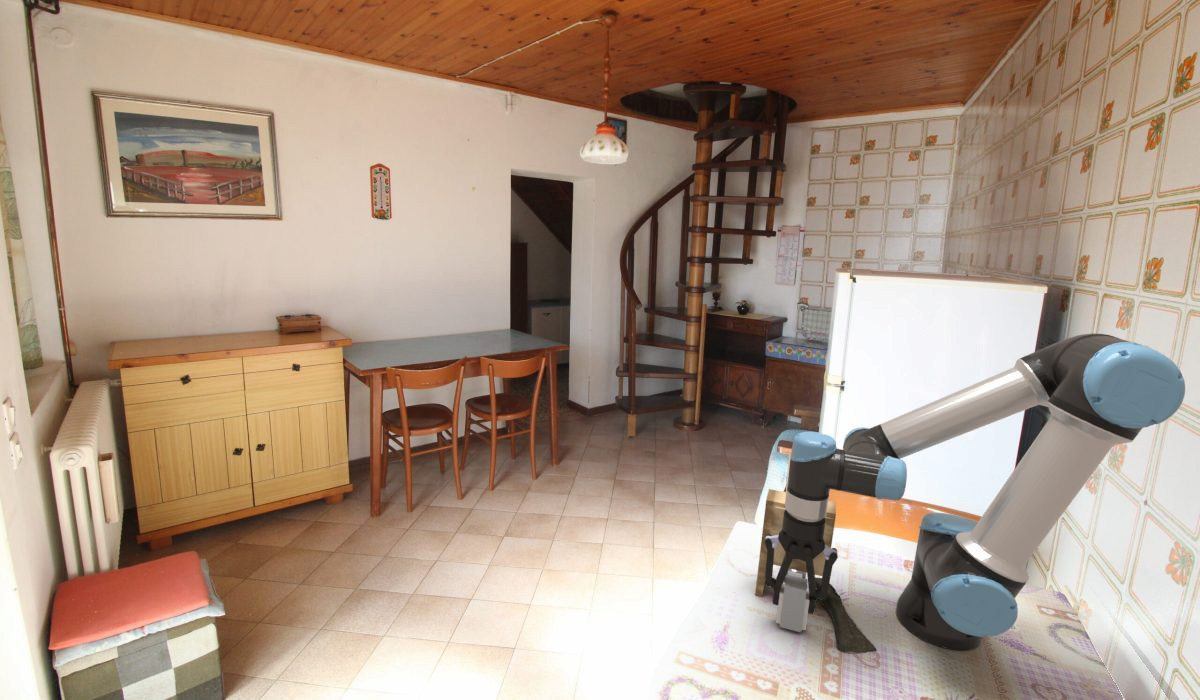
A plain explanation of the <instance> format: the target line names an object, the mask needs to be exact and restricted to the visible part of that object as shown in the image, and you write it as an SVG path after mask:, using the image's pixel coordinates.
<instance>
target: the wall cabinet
mask: <svg viewBox="0 0 1200 700" xmlns="http://www.w3.org/2000/svg"><path fill="white" fill-rule="evenodd" d="M767 491H768V492H767V496H766V500H765V508H764V516H763V523H762V531H761V543H760V550H759V557H758V558H759V560H758V567H757V576H756V585H755V593H754V596H758V597H762V598H763V594H764V588H765V576H766V562H767V548H766V545H765V538H766V535H767V534H770V535H771V536H775V535H779V533H780V532H781V530H782V525H783V517H784V511H785V510H786V509H785V500H786V491H782V490H777V489H770V488H768V490H767ZM836 506H837V505H836V501H832V500H828V507H827V514H826V517H825V519H826V521H825V529H824V536H823V540H824V542H825V545H826V546H828V547H830V548H831V549H832V544H833V537H834V531H835V523H836V516H837V509H836V508H837V507H836ZM785 553H786V552H785V550H784V549H783V547H782V545H781V544H780V542H778V543H777V547H776V548H774V561H773V566H776V567H781V564H782V562H783V559H784V556H785ZM813 563H814V573H815V576H818V577H819V576H820V577H822V575H823V570H824V564H825V558H824V552H823V551H822V552H821V553H820V554H819V555H817V556H816V557H815V558H814V559H813ZM789 569H793V570H798V571H802V572H806V574H807V568H806V562H805V561H802V560H800V559H793V560H792V562H791V564H790V566H789Z"/></svg>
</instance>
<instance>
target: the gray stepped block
mask: <svg viewBox="0 0 1200 700" xmlns="http://www.w3.org/2000/svg"><path fill="white" fill-rule="evenodd" d="M807 591H808V578H807V579H802V574H800V573H795V572H791V571H788V575H786V579H785V581H784V596H783V604H782V612H781V620H780V624H779V628H784V629H787V630H790V631H794V632H797V633H802V631H803V630H802V622H803V615H804V607H805V600H806V592H807Z"/></svg>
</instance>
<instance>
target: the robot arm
mask: <svg viewBox="0 0 1200 700" xmlns="http://www.w3.org/2000/svg"><path fill="white" fill-rule="evenodd" d="M1185 395H1186V383H1185V379H1184V377H1183V374H1182V372H1181V370H1180V368H1179V367H1178V366H1177V364H1176V363H1175V362H1174V361H1173V360H1172V359H1171V358H1169V356H1166V355H1165V354H1163V353H1161V352H1159V351H1158V350H1155V349H1153V348H1152V347H1150V346H1148V345H1145V344H1144V345H1143V344H1141V343H1137V342H1134V341H1130V340H1125V339H1122V338H1119V337H1117V336H1114V335H1110V334H1105V333H1093V332H1092V333H1084V334H1079V335H1075V336H1071V337H1068V338H1065V339H1063V340H1060V341H1058V342H1055V343H1053V344H1050V345H1048V346H1045V347H1044V348H1041V349H1038V350H1036V351H1034V352H1031V353H1029V354H1027V355H1024V356H1023V357H1020V358H1018V359H1016V362H1015V364H1014V366H1013V367H1011V368H1009V369H1007V370H1005V371H1002V372H999V373H997V374H995V375H993V376H991V377H988V378H986V379H984V380H981V381H978V382H976V383H974V384H972V385H969V386H967V387H964V388H962V389H959V390H958V391H955V392H952V393H951V394H948V395H945V396H944V397H941V398H939V399H937V400H933V401H932V402H929V403H927V404H925V405H922V406H920V407H917V408H915V409H914V410H911V411H908V412H906V413H904V414H901V415H899V416H897V417H894V418H892V419H889V420H887V421H885V422H882V423H880V424H877V425H874V426H872V427H870V428H869V427H863V426H862V427H856V428H853V429H851V430H850V431H849V432H848V433H847V434H846V436H845V437H844V440H843V446H842V449H840V448H837V443H836V439H835V438H834V437H832V436H831V435H828V434H823V433H822V432H817V431H803V432H799V433H797V434H796V435H795V436H794V438H793V441H792V445H791V446H792V447H791V450H790V451H791V453H790V459H789V467H788V476H787V485H786V486H787V488H786V491H785V492H786V500H785V509H786V510H785V511H784V517H783V525H782V530H781V532H780V533H779V535H775V536H771V535H770V534H767V535H766V538H765V545H766V548H767V562H766V576H765V584H764V586H766V587H769V588H772V589H773V590H772V591H773V594H772V605H774V606H777V613H776V620H775V623H776V624H779V625H780V620H781V612H782V604H783V596H784V587H785V585H783V584H784V583H785V581H784V579H785V577H786V574H787V572H788V569H789V566H790V564H791V562H792V560H793V559H800V560H802V561H805V562H806V568H807V573H806V577H807V588H808V592H806V600H805V607H804V615H803V622H802V630H801V631H806V630H807V629H806V627H807V621H808V615H810V614H811V615H813V614H815V609H816V602H817V601H818V599H819V600H821V599H822V600H825V599H826V598H827V593H828V588H829V583H830V581H831V576H832V572H833V566H834V564H835V563H836V561H837V559H838V558H839V557H838V549H837V548H836V547H831V548H830V547H828V546H826V545H825V542H824V540H823V536H824V529H825V521H826V519H825V517H826V514H827V507H828V501H830V500H829V499H830V498H829V497H830V491H831V490H834V491H839V492H844V493H849V494H850V493H851V494H855V495H860V496H865V497H871V498H876V499H878V500H889V501H899V500H901V499H902V498H903V496H904V495H905V491H906V486H907V477H908V469H907V468H908V467H907V464H906V462H905V461H904V460H903V458H905V457H909V456H911V455H914V454H915V453H919V452H921V451H923V450H926V449H929V448H931V447H934V446H936V445H939V444H942V443H944V442H946V441H947V442H948V441H949V440H951V439H955V438H957V437H959V436H962V435H964V434H967V433H969V432H973V431H976V430H978V429H980V428H982V427H985V426H987V425H990V424H993V423H996V422H997V421H1000V420H1004V419H1006V418H1008V417H1011V416H1013V415H1016V414H1018V413H1021V412H1024V411H1026V410H1028V409H1030V408H1033V407H1036V406H1043V407H1047V408H1048V409H1049V411H1050V417H1049V419H1048V420H1047V422H1046V423H1045V425H1044V426H1043V427H1042V428H1041V430H1040V432H1039V434H1038V435H1037V436H1036V437H1035V439H1034V440H1033V442H1032V444H1031V445H1030V447H1029V448H1028V449H1027V451H1025V454H1024V455H1023V456H1022V458H1021V459H1020V461H1019V462H1018V464H1017V465H1016V467H1015V468H1014V469H1013V471H1012V472H1011V474H1010V476H1008V479H1006V481H1005V483H1004V484H1003V485H1002V486H1001V488H1000V489H999V491H998V493H997V494H996V496H995V497H994V499H993V500H992V502H991V503H990V504H989V505H988V507H987V509H986V510H985V512H984V513H983V514H982V516H981V517H980V519H979V520H978V522H977V521H975V520H973V519H970V518H967V517H963V516H960V515H956V514H951V513H946V512H945V513H944V512H929V513H927V514H925V515H924V516H923V517H922V519H921V522H920V526H919V527H918V528H919V532H918V536H917V537H918V538H917V544H916V549H915V556H914V561H913V568H912V572H911V573H912V575H911V579H910V580H909V582H908V583H907V585H906V586H905V588H904V589H903V591H902V593H901V594H900V595H899V597H898V599H897V601H896V608H895V615H896V618H897V620H898V621H899V622H900V624H901V625H902V626H903V627H904V628H905V629H906V630H907V631H909V632H910V633H912V634H913V635H914V636H915V637H918V638H919V639H921V640H924V641H925V642H927V643H930V644H932V645H935V646H938V647H941V648H945V649H949V650H956V651H968V650H972V649H975V648H977V647H979V646H980V644H981V642H982V638H983V637H987V636H989V637H995V636H999V635H1002V634H1004V633H1006V632H1007V631H1009V630H1010V629H1011V628H1012V627H1013V626H1014V625H1015V624H1016V621H1017V619H1018V614H1019V613H1018V612H1019V609H1018V603H1017V600H1016V597H1018V595H1019V593H1020V592H1021V591H1022V589H1023V588H1024V587H1025V586H1026V584H1027V583H1028V581H1029V579H1030V576H1029V574H1028V571H1027V570H1028V569H1027V567H1026V564H1027V563H1028V562H1029V560H1031V557H1032V556H1033V555H1034V553H1035V552H1036V551H1037V549H1038V547H1040V545H1041V544H1042V543H1043V541H1044V540H1045V538H1046V537H1047V536H1048V535H1049V533H1050V531H1051V530H1053V528H1054V526H1055V525H1056V523H1057V522H1058V521H1059V519H1061V516H1062V515H1063V514H1064V513H1065V511H1066V510H1067V509H1068V507H1069V506H1070V505H1071V503H1072V502H1073V500H1074V499H1075V498H1076V497H1077V495H1078V494H1079V493H1080V491H1081V490H1082V488H1083V487H1084V485H1085V484H1086V483H1087V482H1088V481H1089V479H1090V478H1091V477H1092V475H1093V474H1094V472H1095V471H1096V470H1097V468H1098V466H1099V465H1100V464H1101V463H1102V461H1103V460H1104V458H1105V457H1106V456H1107V455H1108V454H1109V452H1110V451H1111V449H1113V447H1115V446H1117V445H1121V444H1122V445H1123V444H1129V443H1132V442H1133V441H1134V440H1135V438H1137V436H1138V435H1139V434H1140V432H1141V431H1142V430H1143V428H1148V427H1151V426H1153V425H1159V424H1162V423H1163V422H1165V421H1168V419H1170V418H1171V417H1173V416H1174V414H1175V413H1176V412H1177V411H1179V409H1180V407H1181V405H1182V403H1183V401H1184V399H1185ZM778 542H780V544H781V545H782V547H783V549H784V550H785V552H786V553H785V556H784V559H783V562H782V564H781V566H779V569H778V573H777V575H776V578H775V577H773V571H774V565H773V561H774V548H776V547H777V543H778ZM822 551H823V552H824V558H825V564H824V570H823V575H822V576H821V578H822V581H821V586H820V589H816V583H815V577H816V575H815V573H814V563H813V559H814V558H815V557H816V556H817V555H819V554H820V553H821V552H822ZM830 584H831V583H830Z"/></svg>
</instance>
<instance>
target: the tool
mask: <svg viewBox="0 0 1200 700" xmlns="http://www.w3.org/2000/svg"><path fill="white" fill-rule="evenodd" d="M821 581H822V577H816V576H815V583H816V589H820V586H821ZM841 597H842V596H841V595H840V594H839V593H838V592H837V590H836V588H834V586H833V585H832V584H831V583H829V588H828V593H827V598H826V599H825V600H822V599H820V601H821V605H823V607H824V609H825V610H827V612H829V614H830V615H831V618H832V622H833V627H834V628H833V629H834V632H835V641H836V648H837V649H838V650H840V651H842V652H843V653H844V654H866V653H873V652H875V653H876V652H877V651H878V649H877V647H876V646H875V645H874V644H873V643H872V642H871V640H869V638H867V636H865V634H864V633H863V632H862V630H860V628H859V627H858V625H857V624H856V622H854V620H853V618H851V616H850V614H848V612H847V610H846V608H845V606H844V603H843V600H842V598H841Z"/></svg>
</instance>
